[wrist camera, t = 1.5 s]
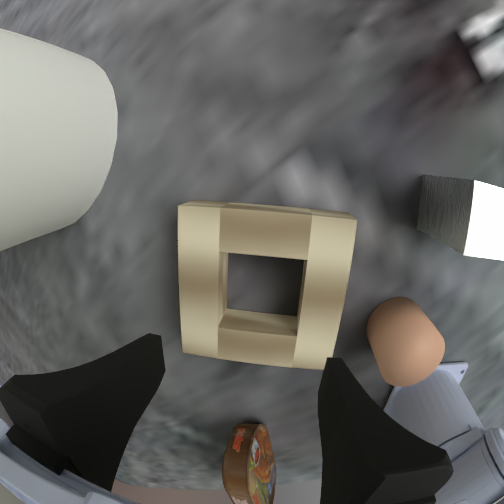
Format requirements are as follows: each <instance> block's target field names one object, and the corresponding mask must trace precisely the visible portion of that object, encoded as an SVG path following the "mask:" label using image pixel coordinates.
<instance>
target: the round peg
mask: <svg viewBox="0 0 504 504" xmlns="http://www.w3.org/2000/svg"><path fill="white" fill-rule="evenodd" d="M366 334H367V337H368V340H369V343H370V345H371V348H372V351H373V353H374V356H375V359H376V362H377V364H378V367H379V370H380V373H381V375H382V377H383V379H384V380H385V381H386V382H387V383H388V384H390V385H393V386H398V387H404V386H410V385H413V384H416V383H418V382H420V381H422V380H424V379H425V378H427V377H428V376H429V375H430V374H432V373H433V372H434V370H435V369H436V368H437V367H438V365H439V364H440V362H441V360H442V358H443V355H444V351H445V343H444V339H443V337H442V336H441V334H440V333H439V332H438V330H437V329H436V328H435V326H434V325H433V324H432V323H431V321H430V320H429V319H428V317H427V316H426V315H425V314H424V312H423V311H422V310H421V309H420V307H419V306H418V305H417V304H416V303H415V302H414V301H413V300H411V299H409V298H406V297H395V298H391V299H389V300H386V301H384V302H383V303H381V304H380V305H379V306H378V307H377V308H376V309H375V310H374V311H373V312H372V314H371V315H370V317H369V319H368V322H367V326H366Z"/></svg>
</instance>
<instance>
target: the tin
mask: <svg viewBox="0 0 504 504" xmlns="http://www.w3.org/2000/svg"><path fill="white" fill-rule="evenodd" d="M222 478H223V484H224V487H225V490H226V491H227V493H228V495H229V497H230V498H231V500H232V502H233V503H234V504H273V499H274V493H275V484H276V467H275V461H274V457H273V452H272V448H271V443H270V439H269V434H268V430H267V427H266V426H265V424H263V423H260V424H244V423H243V424H238V425H236V426H235V427H234V428H233V431H232V434H231V436H230V439H229V442H228V445H227V448H226V450H225V453H224V456H223V463H222Z"/></svg>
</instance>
